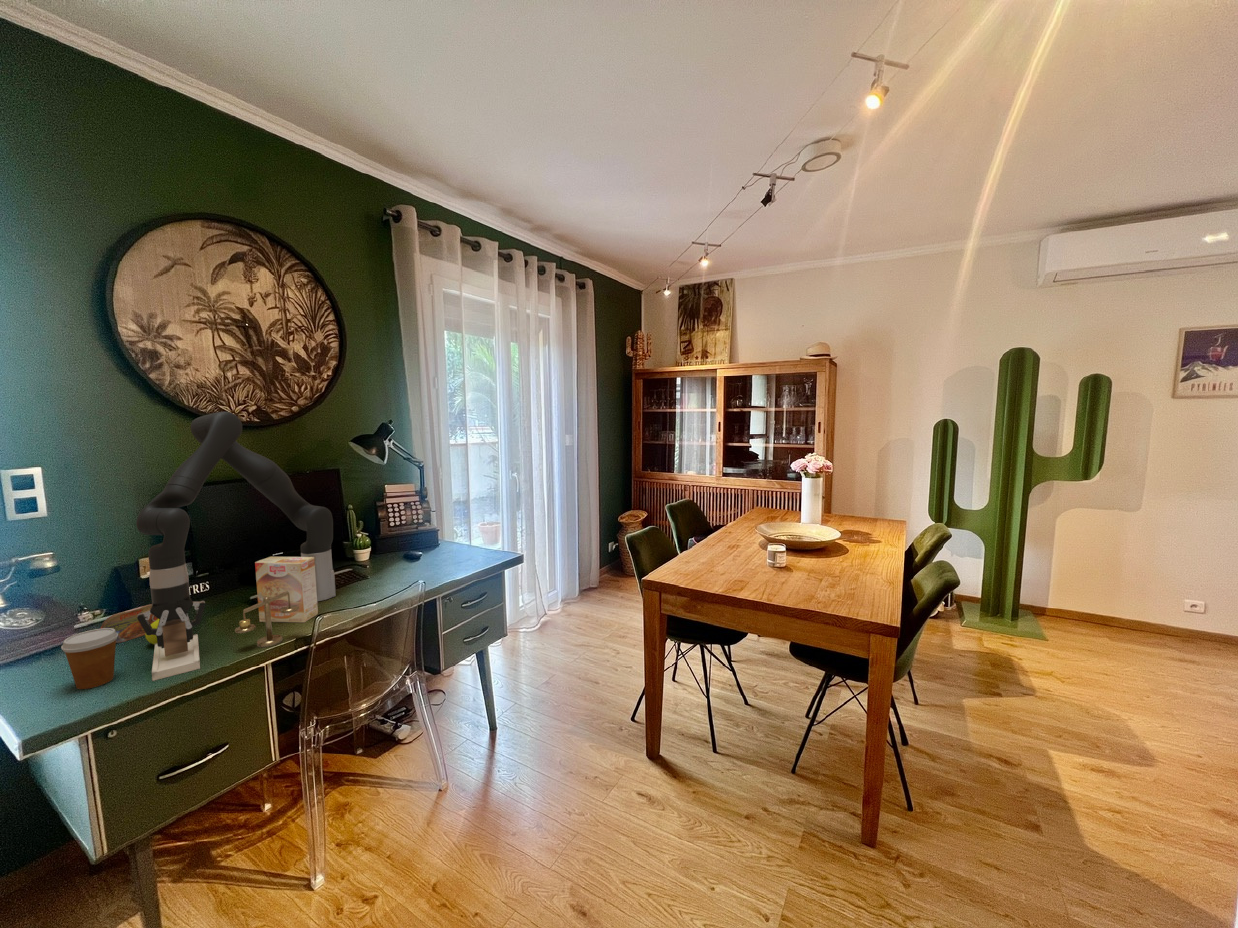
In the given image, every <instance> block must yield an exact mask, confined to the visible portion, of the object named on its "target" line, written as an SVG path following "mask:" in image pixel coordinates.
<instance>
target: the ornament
mask: <svg viewBox="0 0 1238 928" xmlns="http://www.w3.org/2000/svg"><path fill="white" fill-rule="evenodd" d="M159 620H160V619H158V620H156V621H155V622H153V623H152V624H151V626H152V628H156V629H157V627H158V623H159ZM144 636H145V640H146V641H147V642H149V644H152V645H155V644H156V643H157V636H156V635H147V634H146V633H145V635H144Z"/></svg>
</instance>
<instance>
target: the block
mask: <svg viewBox="0 0 1238 928" xmlns="http://www.w3.org/2000/svg"><path fill="white" fill-rule="evenodd" d="M162 631H163V640H164V650H165V656H169V655H174V654H178V653H182V652H186V651H188V642H187V636H186V626H185V622H182V620H181V619H178V620H171V621H168V622H166V623H165V626H162Z"/></svg>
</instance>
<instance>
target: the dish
mask: <svg viewBox="0 0 1238 928" xmlns="http://www.w3.org/2000/svg"><path fill="white" fill-rule="evenodd" d="M151 667H152V668H151V680H152V682H154V681H157V680H161V679H164V678H165V679H166V678H169V677H173V676H177V675H181V674H184V673H188V672H192V671H195V670H200V669H201V660H200V648H199V636H198V633H197V634H193V639H191V640H190V642H188V651H186V652H182V653H178V654H174V655H169V656H165V650H164V648H161V647H158V645H157V643H156V644H154V651H153V658H152V666H151Z"/></svg>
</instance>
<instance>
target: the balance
mask: <svg viewBox="0 0 1238 928" xmlns="http://www.w3.org/2000/svg"><path fill="white" fill-rule="evenodd" d="M286 595H288V603H289V606H286V607H283V608H281V609H280V612H281V613H291V612H294V611H297V610H298V609H299V606H298V605H290V594H289V592H288V591H286V592H284V593H282V594H279V595H277V596H274V597H272V598H269V597H265V598H264V599H263V602H260V603H258V602H257V603H256V604H253V605H251V606H249V607H246V608H244V609H243V612H242V616H243V619H242V620H239V623H238V624H239V626H238V627H235V629H234V632H235V634H245V633H249V632H253V631H254V630H256V624H254V623H251V619H250V618H246V613H249V612H251V611H253V610H256V609H259V608H258V607H261V606H263V605H264V611H265V622H264V624H265V635H266V636H264V637H261V638H259V639H258V640H257V641H256V646H257V648H261V649H262V648H270V647H274V646H277V645H279V644H280V643H282V642H283V635H281V634H273V626H272V623H273V622H271V610H270V602H272V601H275V600H277V599H279V598H282V597H284V596H286Z"/></svg>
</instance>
